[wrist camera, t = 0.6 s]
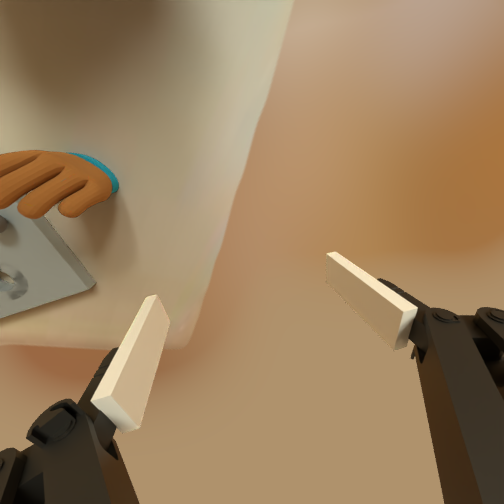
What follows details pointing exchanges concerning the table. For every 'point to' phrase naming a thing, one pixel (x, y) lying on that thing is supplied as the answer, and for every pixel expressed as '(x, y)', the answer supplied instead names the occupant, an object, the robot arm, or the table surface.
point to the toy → (53, 182)
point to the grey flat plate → (36, 264)
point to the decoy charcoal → (3, 224)
